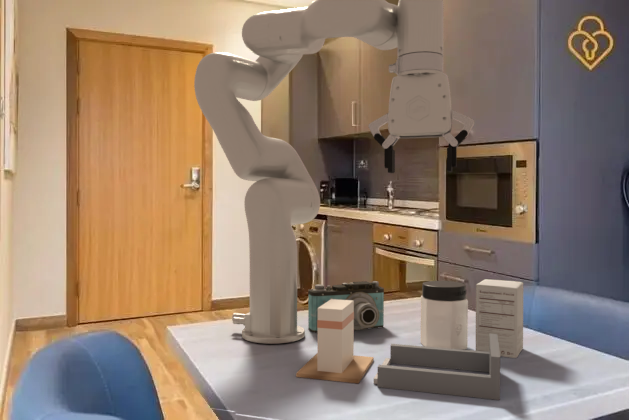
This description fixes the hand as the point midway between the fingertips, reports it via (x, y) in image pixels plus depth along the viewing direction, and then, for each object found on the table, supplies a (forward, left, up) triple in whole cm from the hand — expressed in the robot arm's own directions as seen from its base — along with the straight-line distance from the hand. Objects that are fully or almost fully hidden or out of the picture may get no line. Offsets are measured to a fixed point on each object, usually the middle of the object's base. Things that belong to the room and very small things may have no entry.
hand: (420, 172), depth 90 cm
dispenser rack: (+3, -6, -32) cm, 33 cm away
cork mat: (-13, -6, -32) cm, 35 cm away
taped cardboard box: (-13, -6, -32) cm, 35 cm away
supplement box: (+13, +13, -33) cm, 38 cm away
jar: (+3, +13, -33) cm, 35 cm away
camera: (-16, +19, -33) cm, 41 cm away
